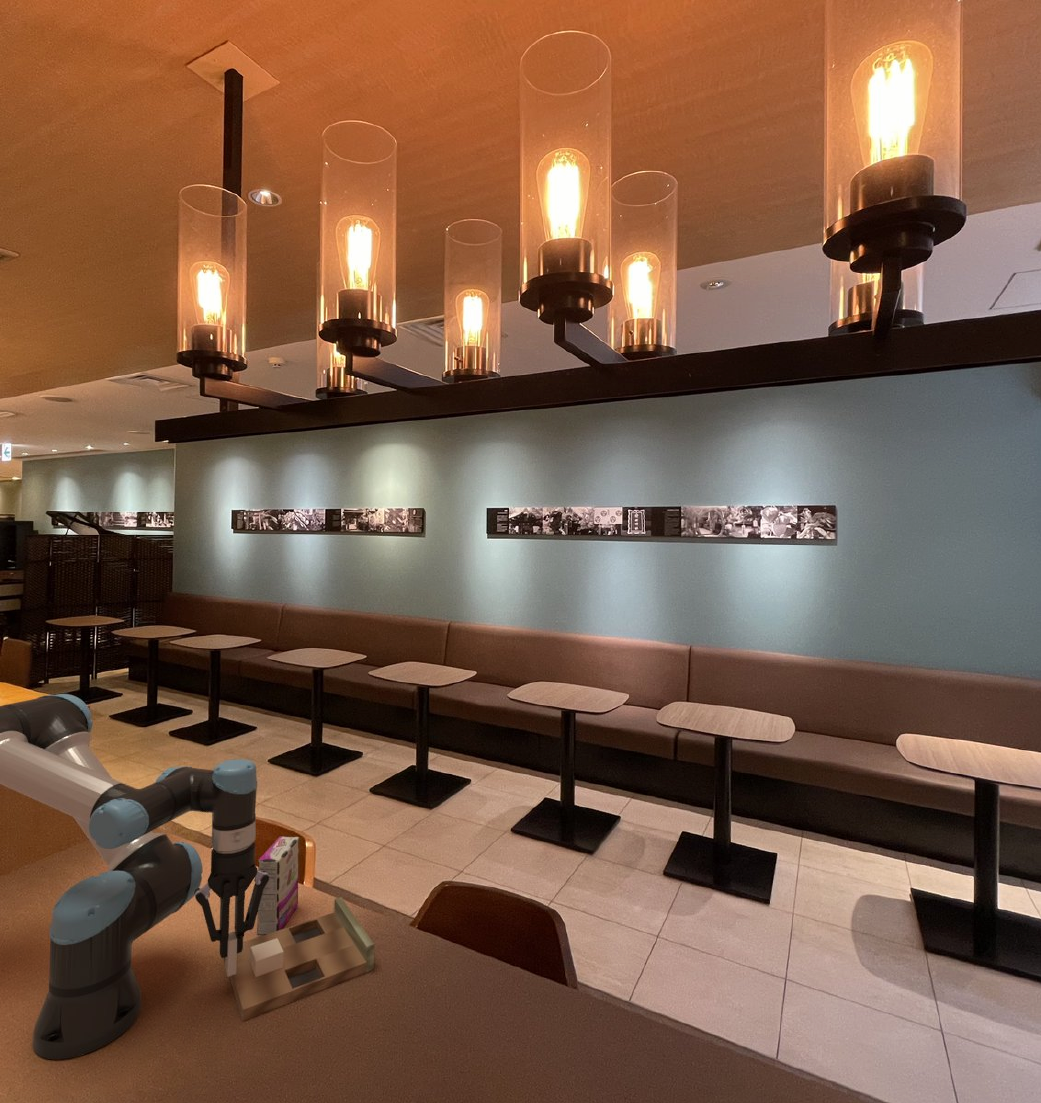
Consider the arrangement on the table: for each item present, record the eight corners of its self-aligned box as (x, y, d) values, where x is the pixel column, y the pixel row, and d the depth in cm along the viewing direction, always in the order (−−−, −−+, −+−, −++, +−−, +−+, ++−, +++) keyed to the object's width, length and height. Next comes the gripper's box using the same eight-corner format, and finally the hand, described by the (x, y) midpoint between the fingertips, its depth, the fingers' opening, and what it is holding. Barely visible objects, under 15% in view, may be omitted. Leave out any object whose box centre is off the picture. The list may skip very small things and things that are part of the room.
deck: (242, 1021, 103) (243, 992, 104) (223, 958, 120) (224, 933, 120) (373, 969, 117) (374, 944, 117) (340, 919, 134) (341, 897, 134)
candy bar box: (277, 906, 138) (279, 835, 139) (298, 906, 138) (300, 836, 139) (254, 936, 127) (257, 859, 127) (277, 936, 127) (280, 860, 127)
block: (255, 977, 112) (256, 961, 112) (250, 962, 116) (250, 947, 116) (283, 967, 115) (283, 951, 115) (276, 953, 119) (277, 938, 119)
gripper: (197, 863, 105) (193, 997, 104) (274, 844, 112) (271, 969, 112) (192, 846, 111) (189, 973, 111) (266, 829, 119) (263, 948, 118)
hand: (230, 971), depth 111 cm, fingers closed
